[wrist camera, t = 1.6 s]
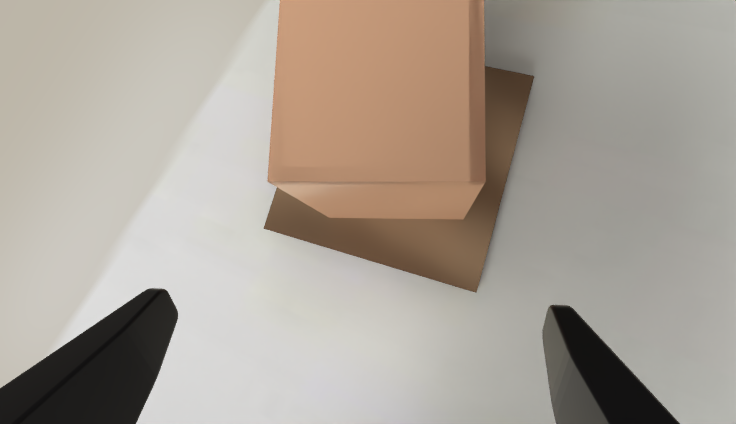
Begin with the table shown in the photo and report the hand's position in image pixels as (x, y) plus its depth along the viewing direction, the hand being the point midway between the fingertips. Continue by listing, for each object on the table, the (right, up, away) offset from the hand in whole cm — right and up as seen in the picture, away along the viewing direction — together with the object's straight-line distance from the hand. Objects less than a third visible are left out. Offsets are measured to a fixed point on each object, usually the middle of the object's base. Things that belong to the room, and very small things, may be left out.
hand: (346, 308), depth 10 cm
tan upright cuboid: (+2, +5, +13) cm, 14 cm away
